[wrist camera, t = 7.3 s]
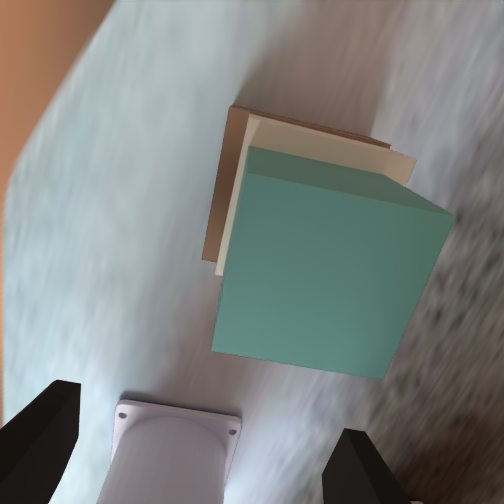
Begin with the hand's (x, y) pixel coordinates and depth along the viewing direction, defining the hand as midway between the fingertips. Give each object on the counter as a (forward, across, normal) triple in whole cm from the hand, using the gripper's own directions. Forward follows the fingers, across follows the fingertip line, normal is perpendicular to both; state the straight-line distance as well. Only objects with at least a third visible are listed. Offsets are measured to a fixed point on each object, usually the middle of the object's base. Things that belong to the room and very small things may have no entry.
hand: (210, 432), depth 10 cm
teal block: (+5, -2, -5) cm, 7 cm away
